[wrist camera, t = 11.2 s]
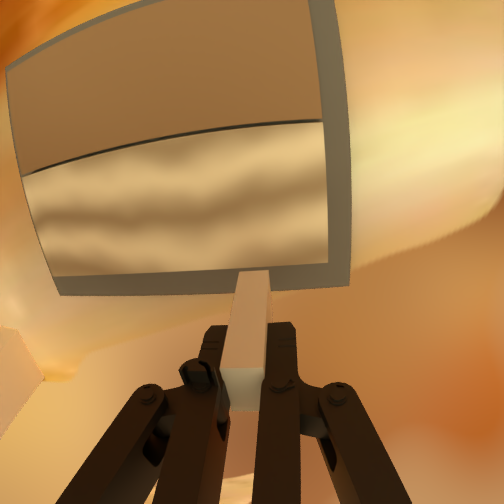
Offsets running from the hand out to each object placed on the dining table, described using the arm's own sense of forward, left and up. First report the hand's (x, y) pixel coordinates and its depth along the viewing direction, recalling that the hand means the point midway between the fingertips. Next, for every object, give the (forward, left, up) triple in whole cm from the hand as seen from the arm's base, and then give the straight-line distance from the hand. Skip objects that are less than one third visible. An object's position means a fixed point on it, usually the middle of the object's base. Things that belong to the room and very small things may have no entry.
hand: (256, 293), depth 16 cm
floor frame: (-8, -10, -14) cm, 18 cm away
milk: (+22, -50, -14) cm, 57 cm away
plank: (-2, -10, -12) cm, 16 cm away
